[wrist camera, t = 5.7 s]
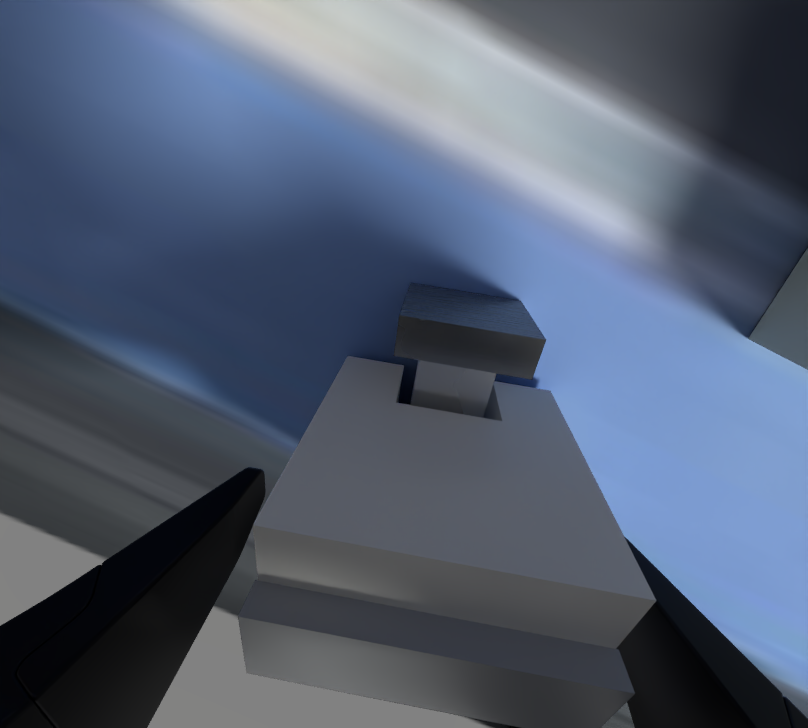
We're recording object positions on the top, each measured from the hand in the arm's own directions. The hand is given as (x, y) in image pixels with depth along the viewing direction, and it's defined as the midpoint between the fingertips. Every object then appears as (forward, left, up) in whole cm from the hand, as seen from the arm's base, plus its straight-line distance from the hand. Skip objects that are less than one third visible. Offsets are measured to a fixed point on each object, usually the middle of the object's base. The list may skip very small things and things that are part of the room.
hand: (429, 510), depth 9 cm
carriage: (0, 0, -4) cm, 4 cm away
